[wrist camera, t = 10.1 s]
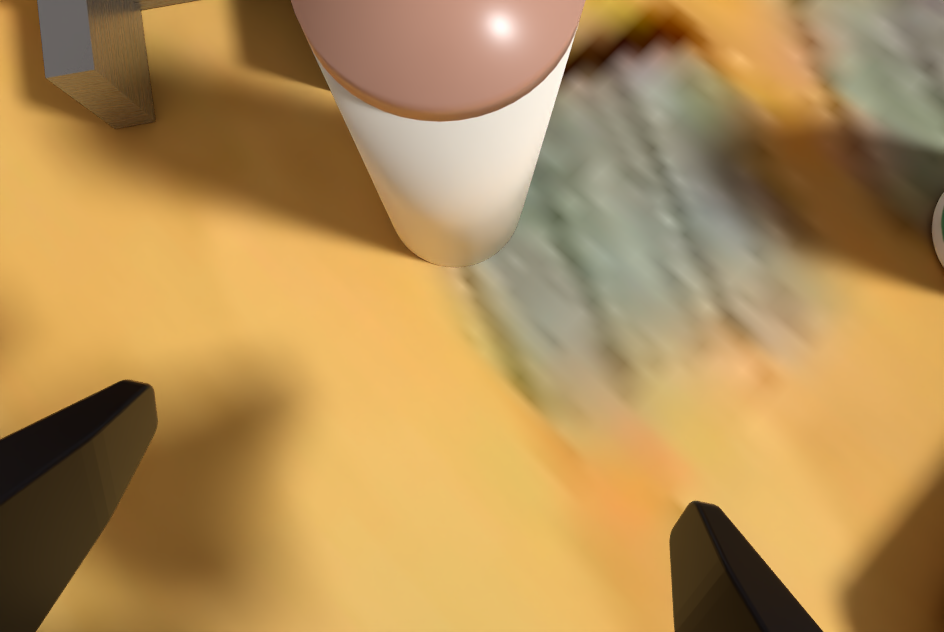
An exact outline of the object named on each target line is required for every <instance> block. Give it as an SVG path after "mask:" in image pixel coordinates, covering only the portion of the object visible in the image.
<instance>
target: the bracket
mask: <svg viewBox="0 0 944 632" xmlns="http://www.w3.org/2000/svg"><path fill="white" fill-rule="evenodd" d="M190 1H196V0H37V3H38V12H39V22H40V31H41V40H42V49H43V59H44V68H45V77H46V79H47V80H49V81H50V82H52V83H53V84H54V85H56V86H57V87H58V88H60V89H61V90H62V91H64V92H65V93H67V94H68V95H69V96H71V97H72V98H73V99H75V100H76V101H77V102H79V103H80V104H81V105H83V106H84V107H86V108H87V109H88V110H90V111H91V112H92V113H94V114H95V115H96V116H98V117H99V118H101V119H102V120H103V121H105V122H106V123H107V124H109V125H110V126H111V127H113V128H114V129H116V128H122V127H128V126H133V125H139V124H145V123H150V122H155V114H154V107H153V99H152V91H151V84H150V76H149V69H148V61H147V53H146V46H145V38H144V30H143V23H142V15H141V10H144V9H149V8H155V7H161V6H167V5H173V4H178V3H184V2H190ZM305 37H306V36H305ZM306 39H307V38H306ZM311 50H312V49H311ZM312 52H313V51H312ZM318 65H319V64H318ZM324 78H325V77H324Z"/></svg>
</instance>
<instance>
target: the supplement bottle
mask: <svg viewBox="0 0 944 632" xmlns="http://www.w3.org/2000/svg"><path fill="white" fill-rule="evenodd" d="M932 238H933V243H934V247H935V251H936V254H937V256H938V258H939V260H940V262H941V264H942V266H943V267H944V192H943V194H942V195H941V197H940V199H939V201H938V203H937V205H936V208H935V211H934V215H933V222H932Z"/></svg>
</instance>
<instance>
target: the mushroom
mask: <svg viewBox="0 0 944 632" xmlns="http://www.w3.org/2000/svg"><path fill="white" fill-rule="evenodd" d="M291 3H292V6H293V9H294V12H295V15H296V17H297V19H298V21H299V23H300V25H301V28H302V30H303V32H304V34H305V36H306V38H307V41H308V43H309V45H310V47H311V49H312V51H313V54H314V56H315V58H316V60H317V62H318V64H319V67H320V69H321V71H322V73H323V75H324V77H325V80H326V82H327V84H328V86H329V88H330V90H331V93H332V95H333V97H334V99H335V101H336V103H337V106H338V108H339V110H340V112H341V114H342V116H343V118H344V121H345V123H346V125H347V127H348V129H349V131H350V134H351V136H352V138H353V140H354V142H355V144H356V147H357V149H358V151H359V153H360V155H361V157H362V160H363V162H364V164H365V166H366V168H367V170H368V173H369V175H370V177H371V179H372V181H373V183H374V186H375V188H376V190H377V192H378V194H379V196H380V199H381V201H382V203H383V205H384V207H385V209H386V212H387V214H388V216H389V218H390V220H391V222H392V225H393V227H394V229H395V231H396V233H397V235H398V236H399V238H400V239H401V241H402V242H403V243H404V244H405V245H406V247H407V248H408V249H409V250H411V251H412V252H413V253H414V254H415V255H417V256H419V257H420V258H422V259H424V260H426V261H428V262H430V263H433V264H436V265H440V266H445V267H466V266H471V265H475V264H478V263H480V262H483V261H485V260H487V259H489V258H490V257H492V256H493V255H495V254H496V253H498V252H499V251H500V250H501V249H502V248H503V247H504V246H505V245H506V244H507V243H508V241H509V240H510V238H511V237H512V235H513V234H514V232H515V230H516V228H517V225H518V222H519V219H520V216H521V213H522V209H523V206H524V203H525V199H526V196H527V193H528V189H529V186H530V183H531V179H532V176H533V173H534V169H535V166H536V163H537V159H538V156H539V153H540V149H541V146H542V143H543V139H544V136H545V133H546V129H547V126H548V123H549V119H550V116H551V113H552V110H553V106H554V103H555V100H556V96H557V93H558V90H559V86H560V83H561V80H562V76H563V73H564V70H565V66H566V63H567V60H568V56H569V53H570V50H571V46H572V43H573V40H574V36H575V33H576V30H577V26H578V23H579V20H580V16H581V13H582V10H583V6H584V3H585V0H291Z"/></svg>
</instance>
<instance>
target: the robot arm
mask: <svg viewBox="0 0 944 632" xmlns="http://www.w3.org/2000/svg"><path fill="white" fill-rule="evenodd" d="M157 422H158V419H157V411H156V402H155V394H154V389H153V387H152V386H151V385H149V384H147V383H143V382H138V381H133V380H122V381H119V382H117V383H115V384H113V385H111V386H109V387H107V388H105V389H103V390H101V391H99V392H97V393H95V394H93V395H90V396H88V397H86V398H84V399H82V400H80V401H78V402H76V403H74V404H72V405H70V406H68V407H66V408H64V409H62V410H60V411H58V412H56V413H53V414H51V415H49V416H47V417H45V418H43V419H41V420H39V421H37V422H35V423H33V424H31V425H29V426H27V427H25V428H23V429H21V430H18V431H16V432H14V433H12V434H10V435H8V436H6V437H4V438H2V439H0V632H36V631H37V629H38V628H39V626H40V625H41V623H42V622H43V620H44V619H45V617H46V616H47V614H48V613H49V611H50V610H51V608H52V607H53V605H54V604H55V602H56V601H57V599H58V598H59V596H60V595H61V593H62V592H63V590H64V589H65V587H66V586H67V584H68V583H69V581H70V580H71V578H72V577H73V575H74V574H75V572H76V571H77V569H78V568H79V566H80V565H81V563H82V562H83V560H84V558H85V557H86V555H87V554H88V552H89V551H90V549H91V548H92V546H93V545H94V543H95V542H96V540H97V539H98V537H99V536H100V534H101V533H102V531H103V530H104V528H105V527H106V525H107V523H108V522H109V520H110V518H111V517H112V515H113V513H114V511H115V509H116V508H117V506H118V504H119V502H120V500H121V498H122V496H123V494H124V492H125V490H126V488H127V486H128V485H129V483H130V481H131V479H132V477H133V475H134V473H135V471H136V469H137V467H138V465H139V463H140V461H141V459H142V458H143V456H144V454H145V452H146V450H147V448H148V446H149V444H150V442H151V440H152V438H153V436H154V434H155V431H156V428H157ZM670 561H671V580H672V598H673V617H674V629H675V632H823V631H822V630H821V628H820V627H819V626H818V625H817V624H816V622H815V621H814V620H813V619H812V618H811V616H810V615H809V614H808V613H807V612H806V610H805V609H804V608H803V607H802V606H801V604H800V603H799V602H798V601H797V600H796V598H795V597H794V596H793V595H792V594H791V592H790V591H789V590H788V589H787V588H786V586H785V585H784V584H783V583H782V582H781V580H780V579H779V578H778V577H777V576H776V574H775V573H774V572H773V571H772V570H771V568H770V567H769V566H768V565H767V564H766V563H765V561H764V560H763V559H762V558H761V557H760V555H759V554H758V553H757V552H756V551H755V549H754V548H753V547H752V546H751V545H750V543H749V542H748V541H747V540H746V539H745V537H744V536H743V535H742V534H741V533H740V531H739V530H738V529H737V528H736V527H735V525H734V524H733V523H732V522H731V521H730V519H729V518H728V517H727V516H726V515H725V513H724V512H723V511H722V510H721V509H720V508H719V507H718V506H716V505H714V504H710V503H705V502H700V501H692V502H691V503H689V505H688V506H687V507H686V509H685V510H684V512H683V513H682V515H681V516H680V518H679V519H678V521H677V522H676V524H675V525H674V527H673V529H672V531H671V535H670Z"/></svg>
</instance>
